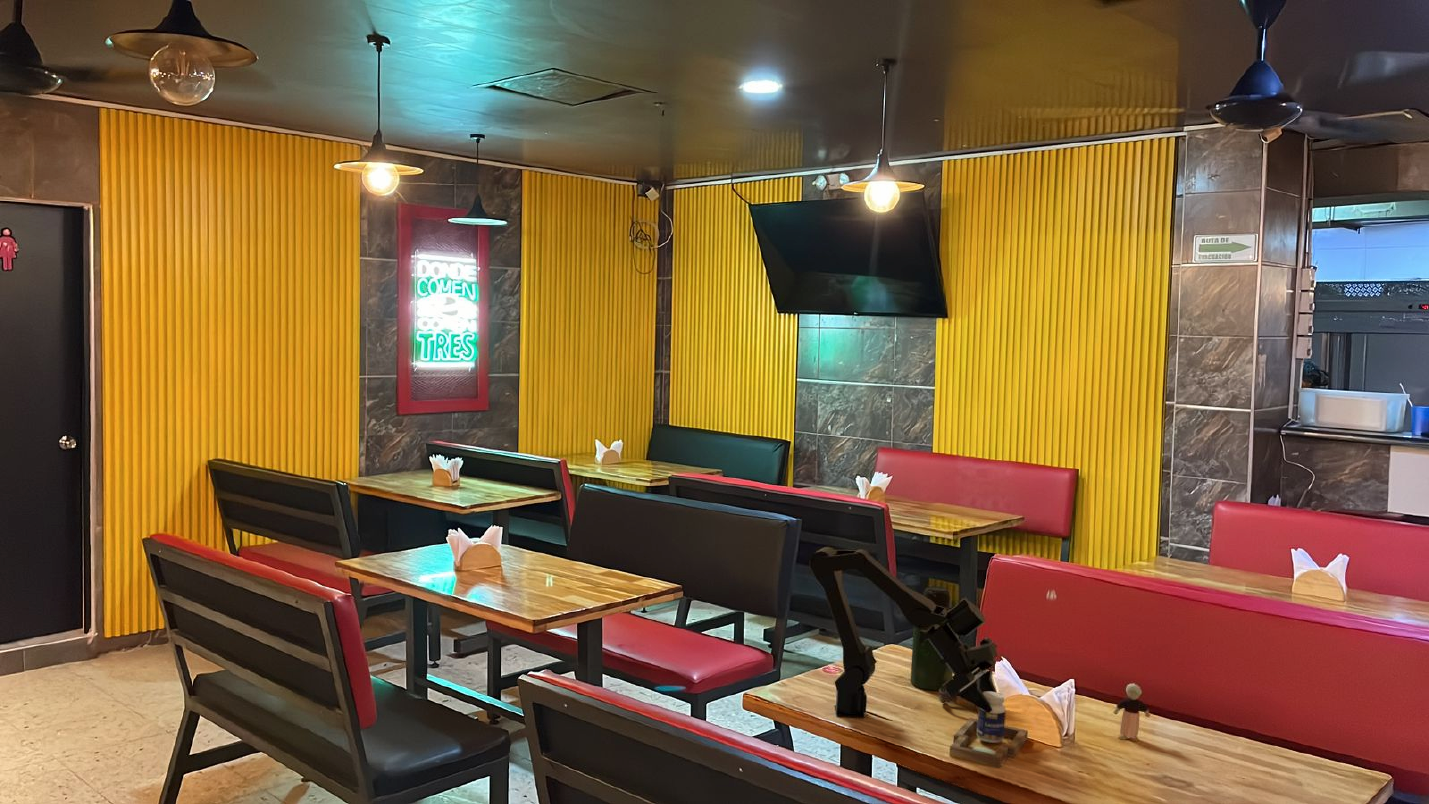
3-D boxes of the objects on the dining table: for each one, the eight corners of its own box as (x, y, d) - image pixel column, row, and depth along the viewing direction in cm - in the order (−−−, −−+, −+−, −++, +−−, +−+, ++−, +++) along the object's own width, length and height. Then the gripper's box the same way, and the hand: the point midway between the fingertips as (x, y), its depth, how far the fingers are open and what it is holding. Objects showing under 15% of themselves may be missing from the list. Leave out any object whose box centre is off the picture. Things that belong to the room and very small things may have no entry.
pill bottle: (984, 744, 231) (988, 699, 231) (971, 734, 237) (974, 690, 236) (1008, 743, 233) (1011, 698, 232) (994, 733, 238) (997, 689, 238)
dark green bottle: (957, 684, 274) (963, 588, 272) (943, 694, 265) (949, 595, 263) (919, 675, 279) (924, 581, 277) (904, 685, 270) (909, 588, 269)
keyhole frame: (969, 726, 244) (970, 717, 243) (1027, 739, 237) (1027, 730, 237) (943, 754, 226) (944, 745, 226) (1005, 769, 220) (1005, 759, 220)
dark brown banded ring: (980, 720, 249) (963, 689, 249) (945, 728, 255) (929, 698, 254) (993, 694, 259) (977, 664, 259) (959, 702, 265) (944, 673, 264)
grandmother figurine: (1116, 740, 239) (1120, 685, 238) (1110, 734, 243) (1114, 680, 242) (1150, 742, 239) (1154, 687, 238) (1144, 736, 242) (1148, 682, 242)
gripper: (962, 637, 228) (1009, 700, 223) (989, 620, 244) (1034, 677, 239) (925, 665, 232) (970, 727, 227) (954, 646, 248) (997, 703, 243)
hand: (994, 707), depth 234 cm, fingers closed on pill bottle, 6 cm apart
